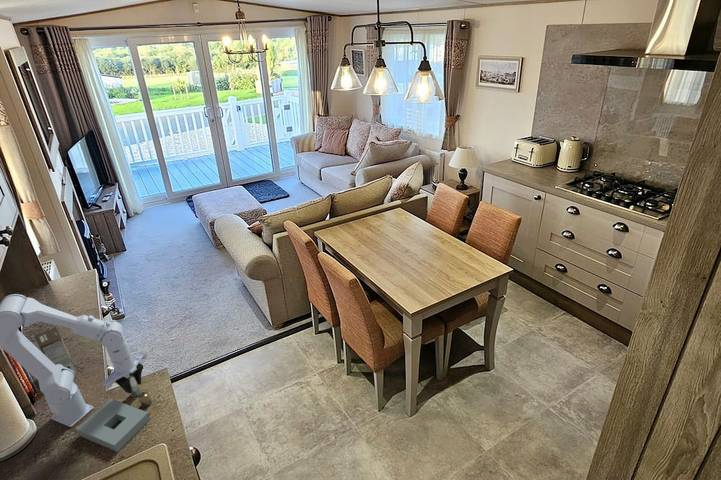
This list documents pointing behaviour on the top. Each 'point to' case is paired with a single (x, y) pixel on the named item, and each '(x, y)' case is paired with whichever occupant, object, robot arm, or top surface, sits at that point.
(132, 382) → the long pin
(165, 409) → the top surface
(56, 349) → the coffee box
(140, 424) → the hole plate
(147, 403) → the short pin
